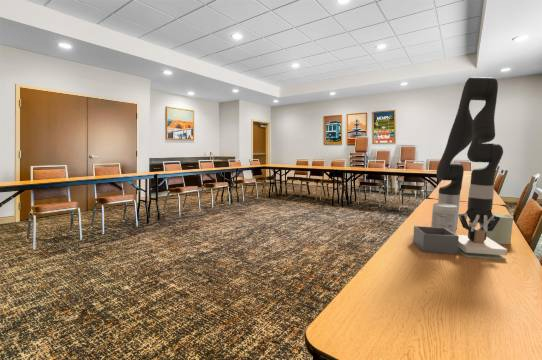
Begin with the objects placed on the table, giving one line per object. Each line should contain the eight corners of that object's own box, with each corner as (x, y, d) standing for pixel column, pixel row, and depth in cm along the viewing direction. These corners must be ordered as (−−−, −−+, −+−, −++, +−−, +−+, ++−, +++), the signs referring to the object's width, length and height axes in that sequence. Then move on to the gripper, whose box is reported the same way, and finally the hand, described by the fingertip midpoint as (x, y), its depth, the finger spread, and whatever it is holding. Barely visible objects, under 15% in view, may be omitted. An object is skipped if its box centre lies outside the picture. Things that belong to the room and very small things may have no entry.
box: (412, 242, 120) (414, 226, 119) (443, 244, 118) (445, 227, 117) (422, 251, 108) (423, 234, 107) (457, 254, 106) (458, 236, 105)
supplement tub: (435, 232, 135) (437, 202, 134) (458, 237, 128) (461, 205, 127) (427, 235, 129) (429, 204, 128) (450, 241, 122) (453, 207, 121)
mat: (449, 244, 117) (449, 243, 117) (484, 247, 115) (484, 246, 115) (465, 256, 104) (465, 255, 104) (505, 259, 101) (505, 258, 101)
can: (511, 246, 117) (514, 217, 115) (483, 241, 122) (486, 214, 121) (510, 240, 124) (513, 214, 123) (483, 236, 129) (486, 211, 128)
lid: (449, 239, 117) (451, 222, 116) (485, 241, 114) (487, 224, 113) (465, 252, 104) (467, 233, 103) (506, 255, 101) (509, 236, 100)
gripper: (495, 195, 110) (491, 239, 111) (455, 194, 112) (452, 236, 114) (507, 199, 102) (503, 245, 104) (464, 197, 105) (460, 242, 107)
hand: (476, 240), depth 109 cm, fingers closed on lid, 3 cm apart
